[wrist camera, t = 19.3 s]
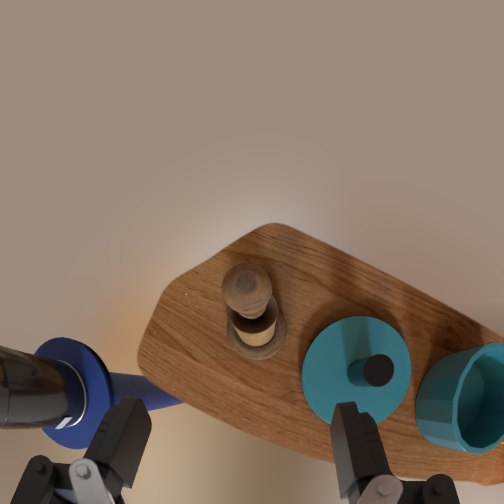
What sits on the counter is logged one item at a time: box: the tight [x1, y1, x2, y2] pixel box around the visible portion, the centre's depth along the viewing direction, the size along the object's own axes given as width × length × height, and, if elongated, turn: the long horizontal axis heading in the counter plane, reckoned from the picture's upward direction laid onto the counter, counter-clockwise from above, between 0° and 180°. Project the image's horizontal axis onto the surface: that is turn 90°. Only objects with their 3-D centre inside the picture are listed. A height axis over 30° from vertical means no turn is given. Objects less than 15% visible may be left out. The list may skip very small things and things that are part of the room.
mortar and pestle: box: [222, 263, 286, 360], centre depth 24 cm, size 7×6×18 cm
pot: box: [415, 342, 504, 454], centre depth 22 cm, size 13×13×8 cm
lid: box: [301, 316, 411, 424], centre depth 26 cm, size 13×13×7 cm
